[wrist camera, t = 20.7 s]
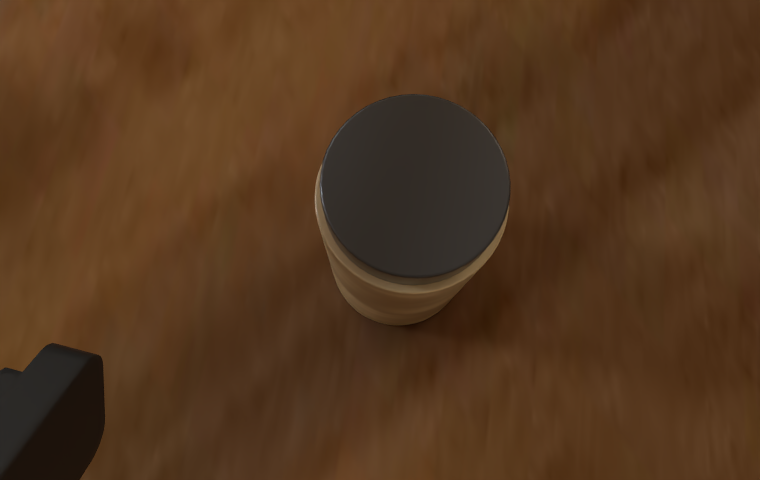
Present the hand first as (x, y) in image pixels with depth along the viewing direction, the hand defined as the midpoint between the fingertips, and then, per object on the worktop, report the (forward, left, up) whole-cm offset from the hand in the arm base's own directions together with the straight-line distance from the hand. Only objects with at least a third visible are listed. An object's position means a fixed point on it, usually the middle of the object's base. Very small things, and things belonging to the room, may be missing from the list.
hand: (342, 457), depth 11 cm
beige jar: (0, -6, -14) cm, 15 cm away
